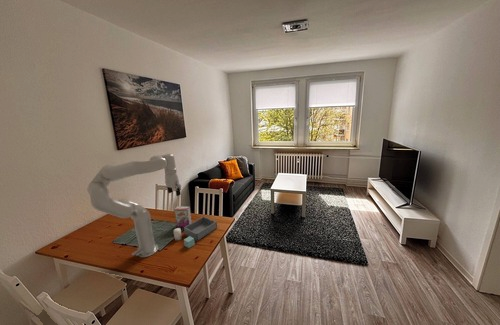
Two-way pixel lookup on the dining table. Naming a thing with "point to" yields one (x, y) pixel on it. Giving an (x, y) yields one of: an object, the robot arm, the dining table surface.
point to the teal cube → (189, 242)
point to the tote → (200, 228)
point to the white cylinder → (177, 234)
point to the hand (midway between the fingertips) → (174, 193)
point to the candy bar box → (182, 216)
